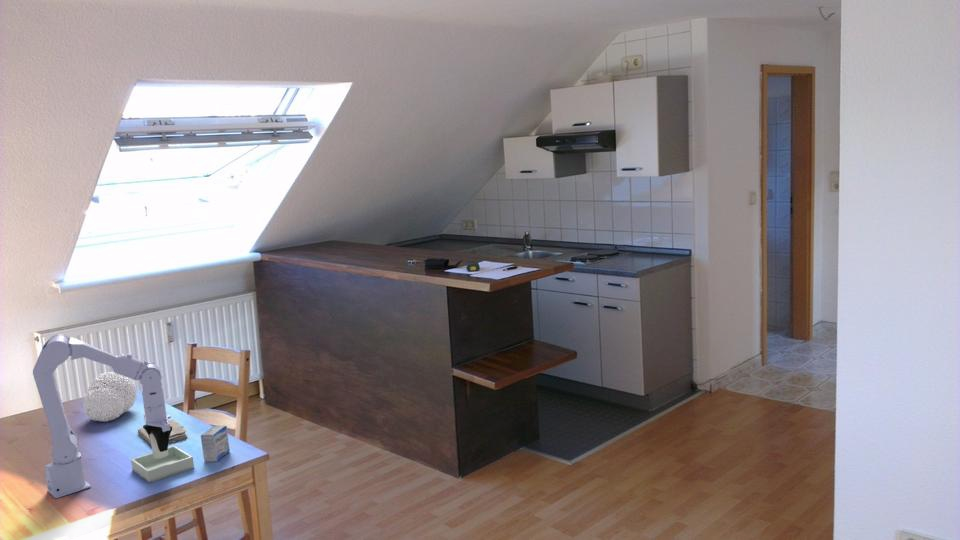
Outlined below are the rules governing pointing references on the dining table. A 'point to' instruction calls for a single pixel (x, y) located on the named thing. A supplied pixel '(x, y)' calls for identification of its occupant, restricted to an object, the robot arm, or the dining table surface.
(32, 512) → the dining table surface
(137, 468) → the tote
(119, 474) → the dining table surface
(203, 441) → the medicine box
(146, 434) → the washcloth
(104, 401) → the cauliflower
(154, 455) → the white capsule cylinder
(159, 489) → the dining table surface
